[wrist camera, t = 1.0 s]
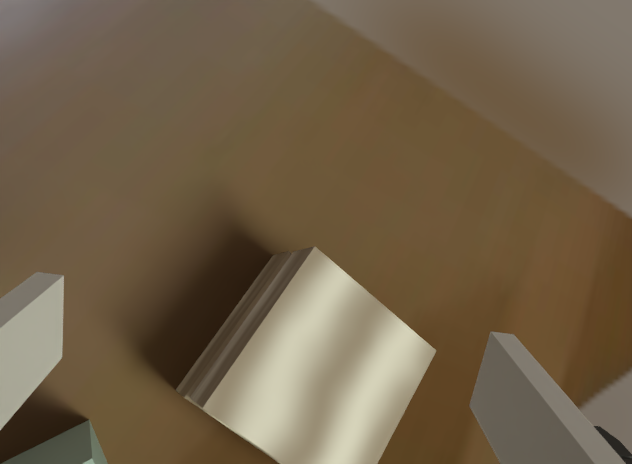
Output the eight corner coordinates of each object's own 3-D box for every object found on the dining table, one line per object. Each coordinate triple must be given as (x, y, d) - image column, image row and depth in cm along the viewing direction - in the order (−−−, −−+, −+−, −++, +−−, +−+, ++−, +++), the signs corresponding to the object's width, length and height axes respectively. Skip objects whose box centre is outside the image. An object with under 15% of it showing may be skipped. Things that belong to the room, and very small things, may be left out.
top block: (189, 397, 34) (202, 407, 31) (293, 251, 39) (314, 246, 36) (326, 492, 38) (351, 511, 34) (406, 347, 42) (436, 350, 39)
